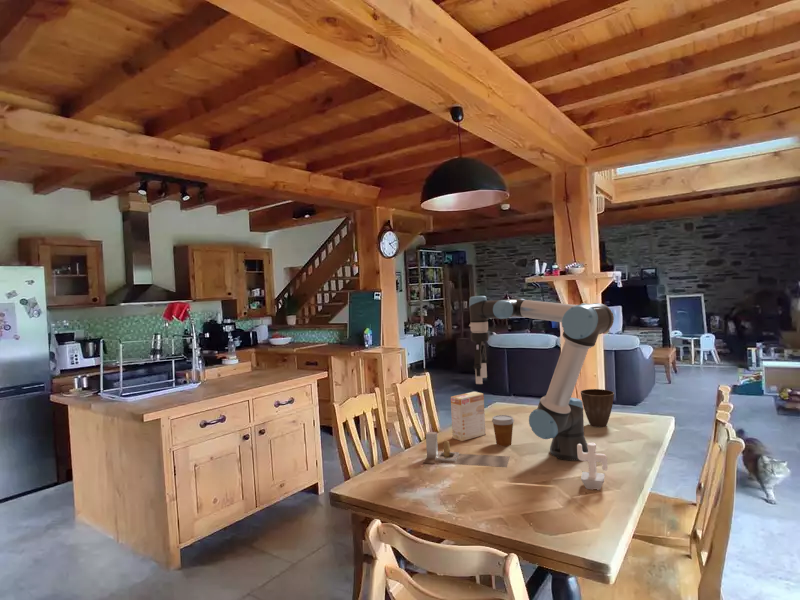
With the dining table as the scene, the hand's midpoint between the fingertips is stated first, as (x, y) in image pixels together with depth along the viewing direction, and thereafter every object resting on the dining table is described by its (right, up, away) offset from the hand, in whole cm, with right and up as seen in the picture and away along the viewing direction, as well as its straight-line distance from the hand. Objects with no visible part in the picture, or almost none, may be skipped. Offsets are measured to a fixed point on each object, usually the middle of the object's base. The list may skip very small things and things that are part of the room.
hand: (481, 380), depth 217 cm
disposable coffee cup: (+10, -28, +1) cm, 30 cm away
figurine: (+30, -29, -47) cm, 63 cm away
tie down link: (-18, -29, -13) cm, 37 cm away
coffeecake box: (-3, -29, +16) cm, 33 cm away
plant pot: (+60, -25, +23) cm, 69 cm away
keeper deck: (-9, -30, -16) cm, 35 cm away
